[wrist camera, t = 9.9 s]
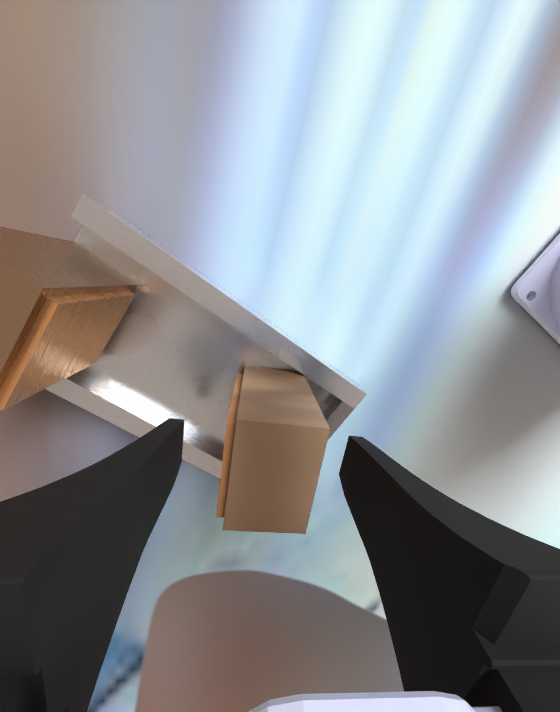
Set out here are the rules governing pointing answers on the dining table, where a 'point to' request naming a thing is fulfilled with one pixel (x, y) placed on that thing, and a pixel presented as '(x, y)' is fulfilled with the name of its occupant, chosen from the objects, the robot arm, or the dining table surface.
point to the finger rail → (139, 334)
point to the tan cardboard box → (271, 452)
